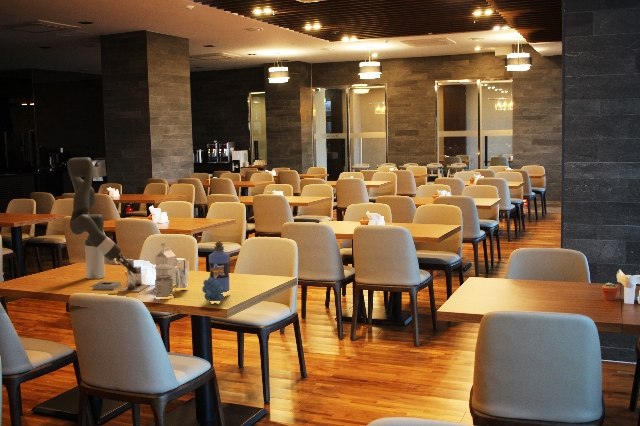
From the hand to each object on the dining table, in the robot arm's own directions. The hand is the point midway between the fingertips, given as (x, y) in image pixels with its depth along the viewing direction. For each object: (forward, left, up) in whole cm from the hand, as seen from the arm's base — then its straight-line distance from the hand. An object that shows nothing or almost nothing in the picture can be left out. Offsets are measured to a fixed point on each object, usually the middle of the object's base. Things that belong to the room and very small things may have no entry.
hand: (134, 270), depth 334 cm
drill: (+1, -1, -9) cm, 9 cm away
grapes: (+24, +43, -10) cm, 50 cm away
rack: (-4, -1, -10) cm, 11 cm away
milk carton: (-15, +11, -10) cm, 21 cm away
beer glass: (-7, +21, -10) cm, 24 cm away
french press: (+9, +17, -10) cm, 22 cm away
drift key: (-11, -23, -11) cm, 28 cm away
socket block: (-5, -15, -10) cm, 19 cm away
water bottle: (+4, +42, -10) cm, 43 cm away
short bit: (-8, -1, -9) cm, 12 cm away
